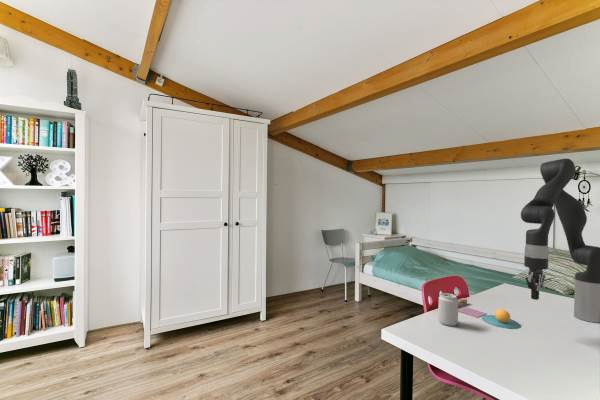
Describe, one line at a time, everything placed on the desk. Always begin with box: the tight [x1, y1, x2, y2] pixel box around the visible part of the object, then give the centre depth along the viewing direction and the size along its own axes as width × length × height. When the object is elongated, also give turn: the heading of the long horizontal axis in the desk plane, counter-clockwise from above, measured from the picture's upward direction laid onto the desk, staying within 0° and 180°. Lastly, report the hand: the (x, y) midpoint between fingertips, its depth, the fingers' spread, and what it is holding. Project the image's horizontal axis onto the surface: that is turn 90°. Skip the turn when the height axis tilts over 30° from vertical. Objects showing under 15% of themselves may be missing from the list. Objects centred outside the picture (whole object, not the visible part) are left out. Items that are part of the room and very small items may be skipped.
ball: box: [494, 308, 511, 323], centre depth 130 cm, size 6×6×6 cm
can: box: [437, 292, 459, 327], centre depth 127 cm, size 8×8×12 cm
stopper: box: [457, 297, 468, 308], centre depth 147 cm, size 20×2×2 cm, turn 124°
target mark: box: [481, 314, 522, 330], centre depth 130 cm, size 14×14×1 cm
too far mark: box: [458, 307, 488, 318], centre depth 140 cm, size 9×9×1 cm
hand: (534, 299), depth 120 cm, fingers closed
